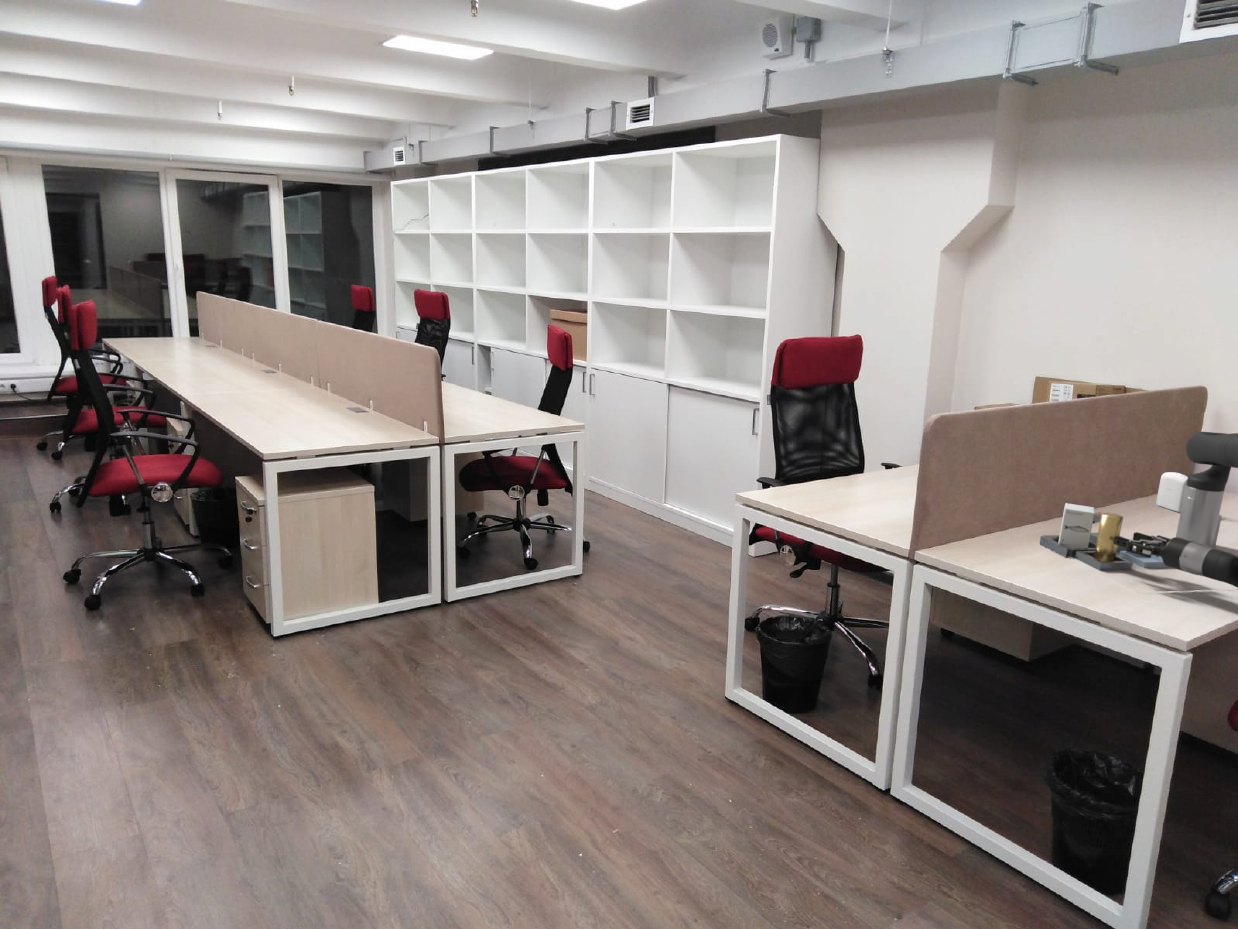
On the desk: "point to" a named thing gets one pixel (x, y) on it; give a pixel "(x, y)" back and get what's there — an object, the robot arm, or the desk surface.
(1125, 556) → the tote tray
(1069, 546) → the supplement box
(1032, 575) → the desk surface
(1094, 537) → the grey square socket block
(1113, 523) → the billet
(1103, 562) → the gray compartment tray
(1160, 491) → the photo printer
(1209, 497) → the robot arm
